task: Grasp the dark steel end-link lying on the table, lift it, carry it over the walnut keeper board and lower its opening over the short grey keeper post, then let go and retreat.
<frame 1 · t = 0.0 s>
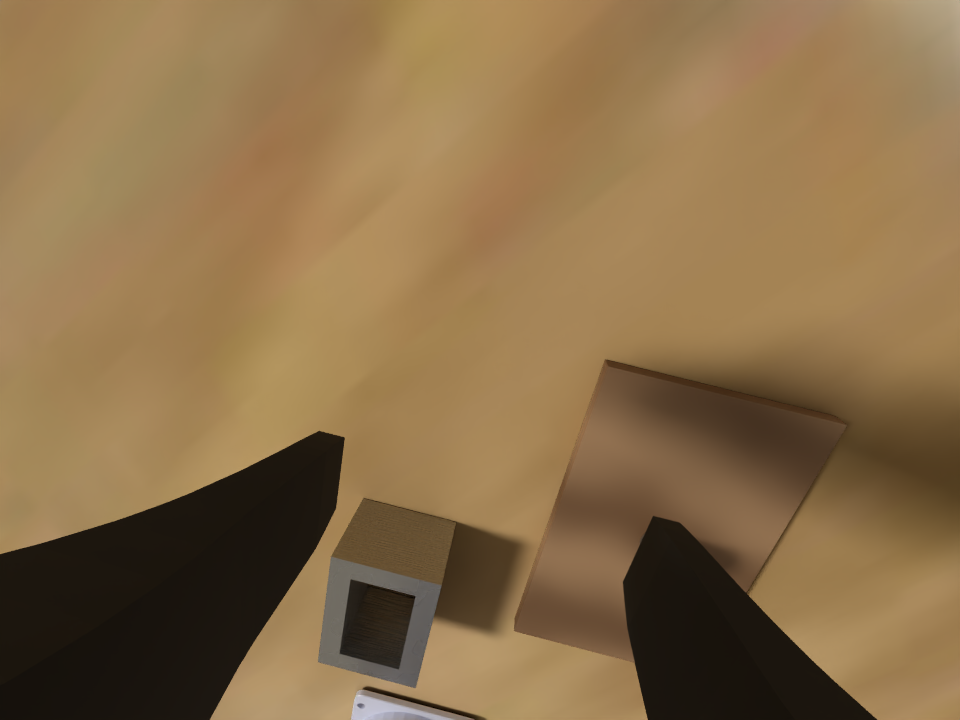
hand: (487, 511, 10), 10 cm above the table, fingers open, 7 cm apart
keeper board: (652, 531, 22), on the table
steel link: (399, 560, 24), on the table
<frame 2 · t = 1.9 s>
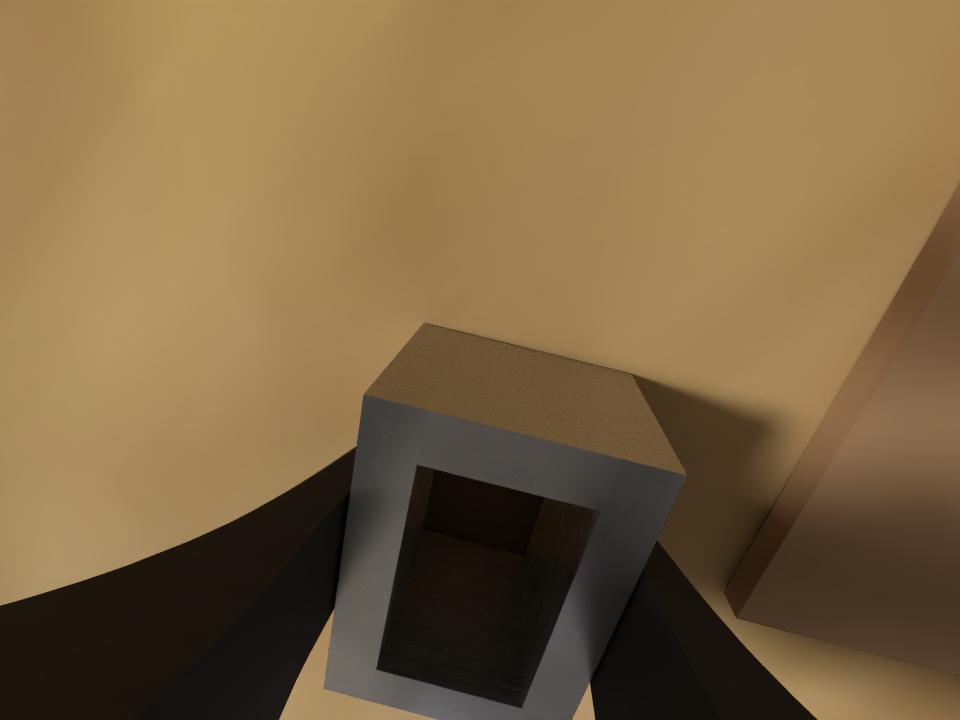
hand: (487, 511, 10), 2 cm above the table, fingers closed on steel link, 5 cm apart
steel link: (493, 470, 12), on the table, touching gripper
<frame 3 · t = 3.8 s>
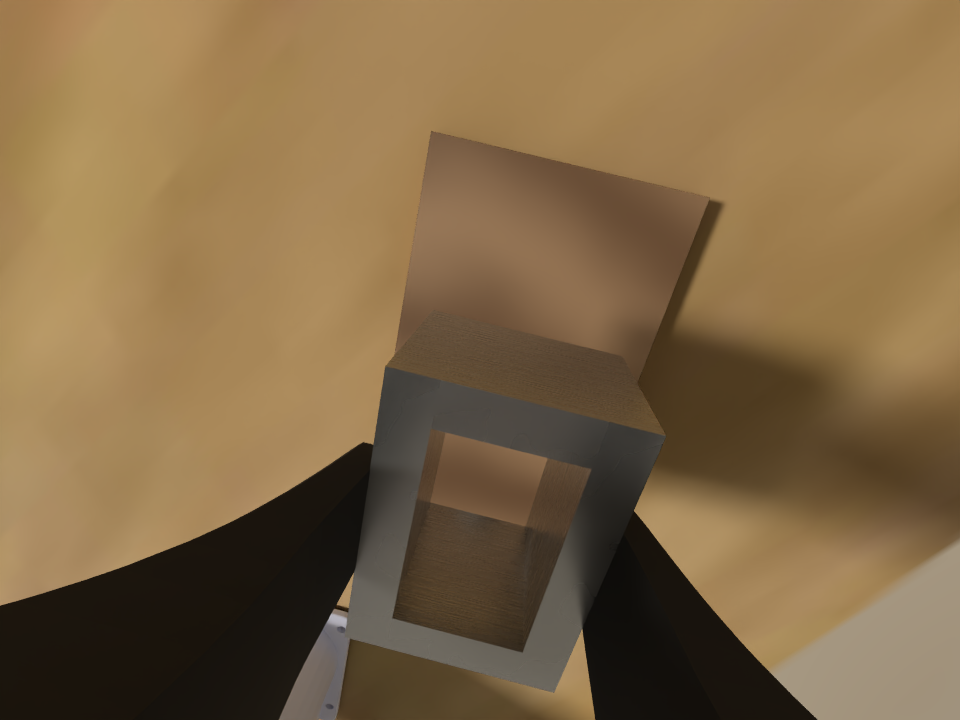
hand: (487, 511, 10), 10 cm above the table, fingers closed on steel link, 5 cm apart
keeper board: (513, 363, 19), on the table
steel link: (496, 446, 13), point 7 cm above the table, touching gripper
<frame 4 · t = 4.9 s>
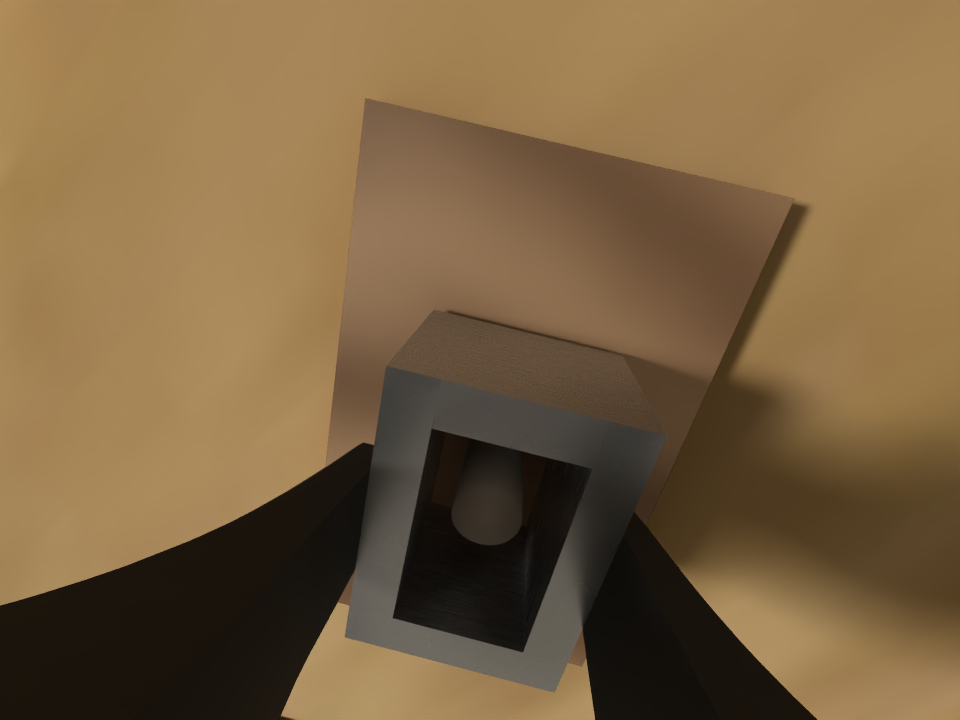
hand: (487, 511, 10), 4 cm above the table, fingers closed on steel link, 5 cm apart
keeper board: (498, 429, 14), on the table
steel link: (496, 446, 13), point 1 cm above the table, touching gripper
when the fingers open (3 cm above the table, at t = 5.5 s): steel link stays where it is, resting on keeper board.
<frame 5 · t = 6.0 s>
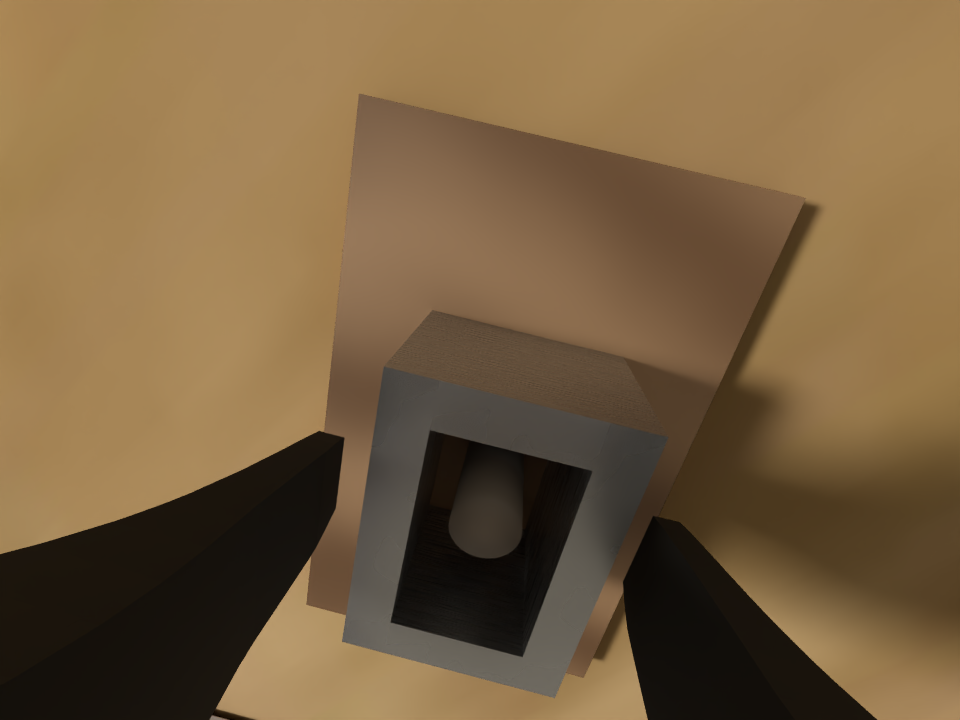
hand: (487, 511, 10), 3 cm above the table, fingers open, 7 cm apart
keeper board: (498, 435, 13), on the table
steel link: (495, 448, 13), point 1 cm above the table, touching keeper board
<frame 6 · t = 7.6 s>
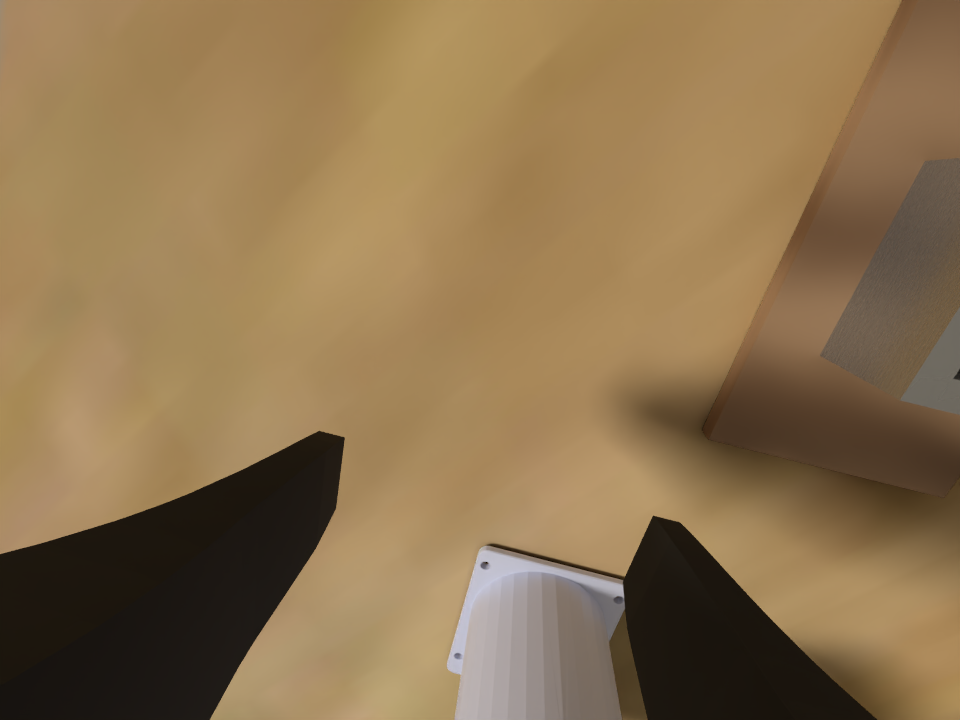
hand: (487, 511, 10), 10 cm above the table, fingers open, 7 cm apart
keeper board: (919, 280, 16), on the table
steel link: (937, 282, 16), point 1 cm above the table, touching keeper board
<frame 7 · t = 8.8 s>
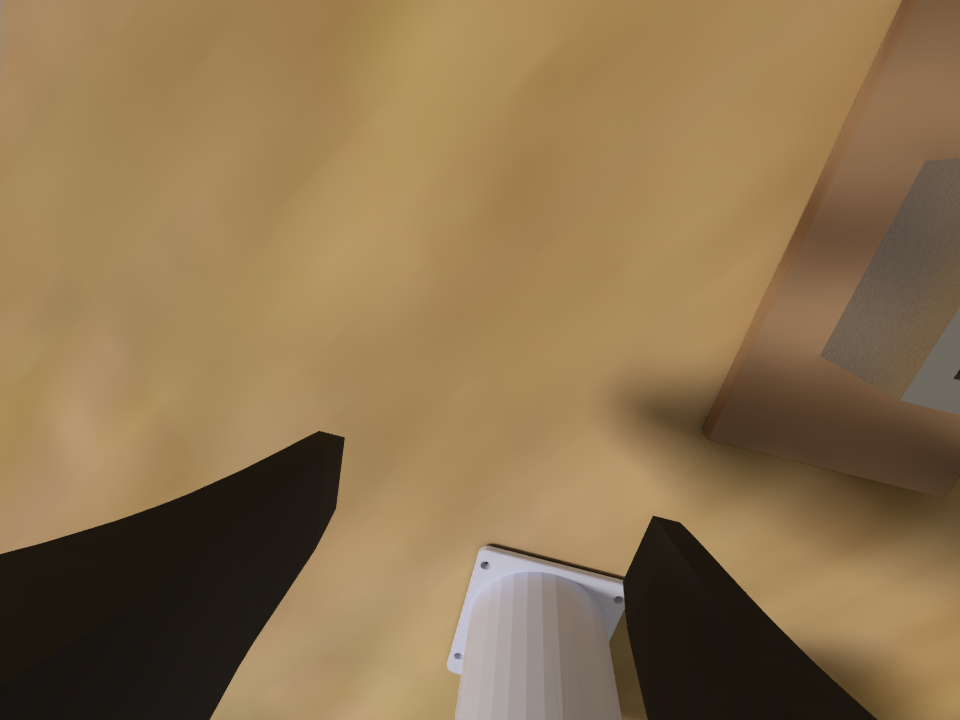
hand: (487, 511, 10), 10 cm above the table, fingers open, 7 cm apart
keeper board: (919, 280, 16), on the table
steel link: (937, 282, 16), point 1 cm above the table, touching keeper board
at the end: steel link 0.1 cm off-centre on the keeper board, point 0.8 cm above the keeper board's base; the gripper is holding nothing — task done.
